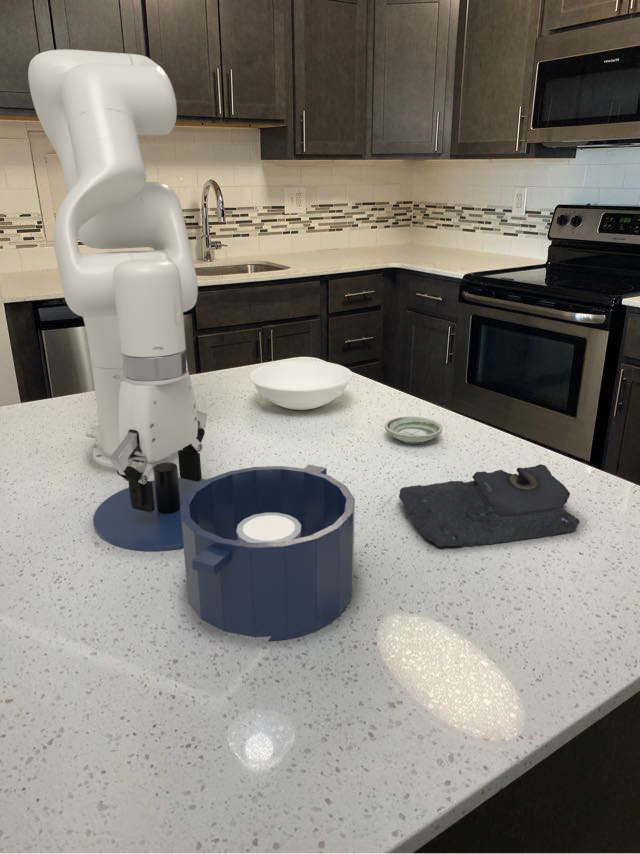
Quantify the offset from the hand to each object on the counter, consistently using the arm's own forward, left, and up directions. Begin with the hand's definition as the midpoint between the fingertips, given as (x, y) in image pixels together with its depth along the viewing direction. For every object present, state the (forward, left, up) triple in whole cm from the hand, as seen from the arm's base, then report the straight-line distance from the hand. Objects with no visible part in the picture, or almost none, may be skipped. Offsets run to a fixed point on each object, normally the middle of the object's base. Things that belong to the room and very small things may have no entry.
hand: (168, 493), depth 86 cm
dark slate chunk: (+37, +19, -4) cm, 42 cm away
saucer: (+20, +40, -4) cm, 45 cm away
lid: (0, 0, -3) cm, 3 cm away
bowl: (-5, +47, -4) cm, 48 cm away
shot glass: (+20, -8, -3) cm, 21 cm away
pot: (+20, -8, -4) cm, 21 cm away
